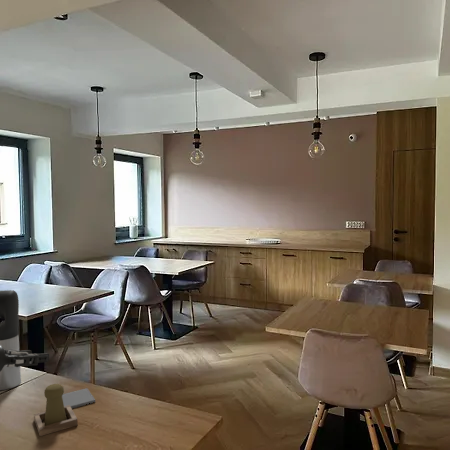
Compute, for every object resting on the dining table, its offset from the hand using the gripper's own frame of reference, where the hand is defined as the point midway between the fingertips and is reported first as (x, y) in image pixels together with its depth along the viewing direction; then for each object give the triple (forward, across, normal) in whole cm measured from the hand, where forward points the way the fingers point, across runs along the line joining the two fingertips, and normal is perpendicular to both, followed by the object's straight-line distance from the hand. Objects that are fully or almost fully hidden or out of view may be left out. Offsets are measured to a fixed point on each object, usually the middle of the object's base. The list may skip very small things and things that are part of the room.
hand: (39, 355), depth 119 cm
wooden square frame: (+8, 0, +19) cm, 21 cm away
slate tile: (+19, +7, +16) cm, 26 cm away
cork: (+8, 0, +20) cm, 21 cm away
